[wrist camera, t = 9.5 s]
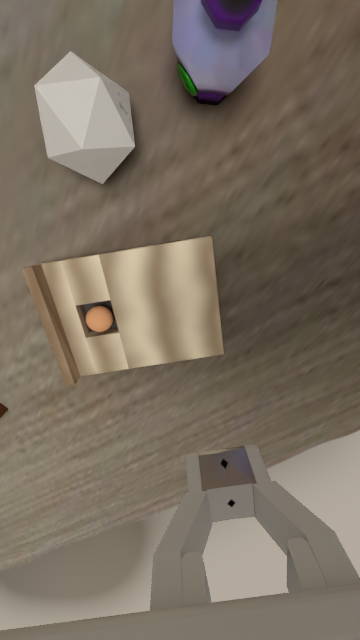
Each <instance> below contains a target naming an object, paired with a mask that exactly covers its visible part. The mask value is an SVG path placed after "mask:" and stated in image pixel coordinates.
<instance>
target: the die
mask: <svg viewBox="0 0 360 640" xmlns="http://www.w3.org/2000/svg"><path fill="white" fill-rule="evenodd" d="M34 87H35V92H36V97H37V103H38V108H39V113H40V119H41V124H42V129H43V134H44V140H45V145H46V150H47V156H48V158H50V159H52V160H54V161H56V162H58V163H60V164H62V165H64V166H66V167H68V168H70V169H72V170H74V171H76V172H78V173H80V174H82V175H84V176H87V177H89V178H91V179H93V180H95V181H97V182H99V183H101V184H103V183H104V182H105V181H106V180H107V178H108V177H109V176H110V175H111V174H112V173H113V172H114V170H115V169H116V168H117V167H118V166H119V165H120V163H121V162H122V161H123V160H124V159H125V158H126V157H127V155H128V154H129V153H130V152H131V151H132V150H133V148H134V147H135V141H134V133H133V124H132V116H131V108H130V99H129V93H128V92H127V91H126V90H124V89H123V88H121V87H120V86H119V85H117V84H116V83H114V82H113V81H112V80H110V79H109V78H107V77H106V76H105V75H103V74H102V73H100V72H99V71H98V70H96V69H95V68H93V67H92V66H90V65H89V64H88V63H86V62H85V61H83V60H82V59H81V58H79V57H78V56H76V55H75V54H74V53H72V52H71V51H70V52H69V53H68V54H67V55H66V56H65V57H64V58H63V59H62V60H61V61H60V62H59V63H58V64H57V65H56V66H54V67H53V68H52V69H51V70H50V71H49V72H48V73H47V74H46V75H45V76H44V77H43V78H42V79H41V80H40V81H39V82H38V83H37V84H36V85H34Z"/></svg>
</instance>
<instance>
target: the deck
mask: <svg viewBox="0 0 360 640" xmlns="http://www.w3.org/2000/svg"><path fill="white" fill-rule="evenodd" d="M22 271H23V274H24V276H25V279H26V282H27V284H28V287H29V289H30V292H31V295H32V297H33V300H34V303H35V305H36V308H37V310H38V313H39V316H40V318H41V321H42V324H43V326H44V329H45V331H46V334H47V337H48V339H49V342H50V345H51V347H52V350H53V352H54V355H55V358H56V360H57V363H58V365H59V368H60V371H61V373H62V376H63V379H64V381H65V384H66V386H69V385H75V384H76V382H77V380H78V379H79V377H80V376H85V375H92V374H98V373H105V372H111V371H118V370H124V369H131V368H137V367H144V366H151V365H157V364H164V363H170V362H177V361H183V360H190V359H196V358H203V357H209V356H216V355H223V354H224V351H223V341H222V331H221V322H220V312H219V302H218V292H217V282H216V272H215V263H214V253H213V243H212V236H204V237H198V238H192V239H186V240H180V241H174V242H168V243H162V244H155V245H149V246H143V247H137V248H131V249H125V250H119V251H113V252H107V253H100V254H94V255H88V256H82V257H76V258H70V259H64V260H58V261H52V262H46V263H40V264H36V265H32V266H28V267H24V268H22ZM95 306H104V307H106V308H108V309H109V310H110V311H111V312H112V315H113V323H112V325H111V327H110V328H109V329H107V330H105V331H103V332H96V331H93V330H92V329H90V328H89V327H88V325H87V323H86V314H87V312H88V311H89V310H90V309H91V308H92V307H95Z"/></svg>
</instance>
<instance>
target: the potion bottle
mask: <svg viewBox="0 0 360 640" xmlns="http://www.w3.org/2000/svg"><path fill="white" fill-rule="evenodd" d="M277 1H278V0H174V9H173V29H172V43H173V46H174V50H175V53H176V56H177V59H178V62H179V63H178V65H177V68H178V73H179V76H180V78H181V80H182V83H183V85H184V87H185V88H186V89H187V90H188V91H189V93H190V94H191V95H193V96H194V98H195V99H196V101H197V102H198V103H201V104H210V105H218V104H219V103H220V102H221V101H222V100H223V99H224V98H225V97H226V96H228V95H229V94H230V93H231V92H232V91H233V90H234V89H235V88H236V87H237V86H238V85H239V84H240V83H241V82H242V81H243V80H244V79H245V78H246V77H247V76H248V75H249V74H250V73H251V72H252V71H253V70H254V69H255V68H256V67H257V66H258V65H259V64H260V63H261V62H262V61H263V60H264V59H265V58H266V57H267V56H268V55H269V53H270V46H271V40H272V33H273V27H274V21H275V14H276V8H277Z"/></svg>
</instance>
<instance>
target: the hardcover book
mask: <svg viewBox="0 0 360 640" xmlns="http://www.w3.org/2000/svg"><path fill="white" fill-rule="evenodd" d="M7 410H8V408H7V407H5V406H4V405H2V404H1V403H0V418H1V417H2V415H3V414H4V413H5V412H6V411H7Z"/></svg>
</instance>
